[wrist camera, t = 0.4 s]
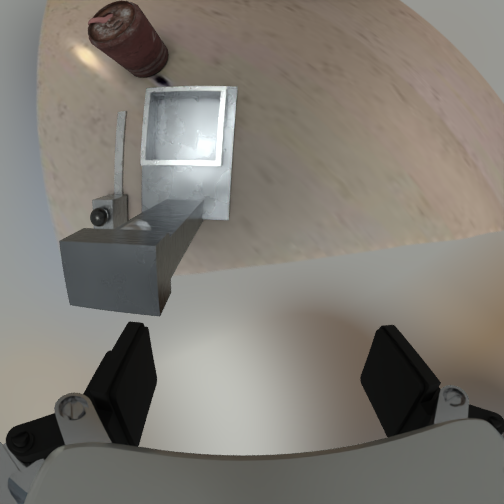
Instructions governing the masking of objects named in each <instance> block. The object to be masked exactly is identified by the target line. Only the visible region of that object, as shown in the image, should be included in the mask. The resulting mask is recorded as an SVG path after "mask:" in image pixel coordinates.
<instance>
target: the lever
mask: <svg viewBox="0 0 504 504" xmlns="http://www.w3.org/2000/svg"><path fill="white" fill-rule="evenodd" d="M92 202H93V211H92V212H91V215H90V220H91V222H92V224H93V225H94V229H115V228H117V227H118V226H120V225H122V224H123V223H125V222H127V195H107V196H103V197H100V198H97V199H94V200H92Z"/></svg>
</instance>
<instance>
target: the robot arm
mask: <svg viewBox="0 0 504 504" xmlns="http://www.w3.org/2000/svg"><path fill="white" fill-rule="evenodd" d="M440 383H441V382H440V381H439V380H438V378H437V377H436V376H435V375H434V373H433V372H432V371H431V369H430V368H429V367H428V366H427V364H426V363H425V362H424V361H423V359H422V358H421V357H420V356H419V354H418V353H417V352H416V351H415V349H414V348H413V347H412V346H411V345H410V343H409V342H408V341H407V340H406V339H405V337H404V336H403V335H402V334H401V333H400V332H399V330H398V329H397V328H396V327H395V326H394V325H386V326H381V327H380V328H379V329H378V330H377V331H376V333H375V336H374V339H373V342H372V346H371V349H370V352H369V355H368V357H367V360H366V363H365V366H364V369H363V371H362V374H361V384H362V386H363V388H364V390H365V392H366V394H367V396H368V398H369V400H370V402H371V404H372V406H373V408H374V410H375V412H376V414H377V417H378V419H379V420H380V423H381V425H382V427H383V429H384V431H385V433H386V435H387V437H388V438H384V439H380V440H375V441H371V442H367V443H362V444H357V445H352V446H346V447H340V448H334V449H328V450H320V451H312V452H303V453H292V454H278V455H252V456H251V455H248V456H247V455H246V456H240V455H239V456H237V455H209V454H194V453H184V452H174V451H165V450H157V449H151V448H144V447H138V446H139V442H140V439H141V436H142V432H143V428H144V425H145V421H146V418H147V414H148V411H149V407H150V404H151V401H152V397H153V393H154V390H155V387H156V384H157V375H156V370H155V365H154V360H153V354H152V348H151V342H150V336H149V329H148V327H144V324H143V323H139V322H128V324H127V325H126V327H125V329H124V330H123V332H122V334H121V335H120V337H119V339H118V341H117V342H116V344H115V346H114V347H113V349H112V351H108V352H107V353H106V354H105V356H104V358H103V360H102V361H101V363H100V365H99V367H98V368H97V370H96V372H95V374H94V375H93V377H92V380H91V381H90V383H89V385H88V387H87V388H86V390H85V392H84V394H80V393H69V394H66V395H64V396H62V397H61V398H60V399H58V401H57V402H56V404H55V408H54V409H55V413H54V414H51V415H48V416H45V417H42V418H39V419H36V420H33V421H30V422H27V423H24V424H20V425H17V426H15V427H13V428H12V429H11V430H10V431H9V432H8V434H7V437H6V443H5V444H4V445H3V444H2V443H1V442H0V504H504V419H503V418H502V417H501V416H500V415H499V414H497V413H495V412H491V411H488V410H485V409H481V408H479V407H476V406H472V405H469V398H468V396H467V394H466V392H465V391H463V390H462V389H461V388H459V387H457V386H452V385H450V386H445V387H443V388H442V389H440V388H439V385H440Z"/></svg>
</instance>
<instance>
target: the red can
mask: <svg viewBox="0 0 504 504" xmlns="http://www.w3.org/2000/svg"><path fill="white" fill-rule="evenodd" d="M88 25H89V27H88V35H89V40H90V42H91V44H93V45H94V46H96V47H97V48H98V49H100V50H101V51H102V52H104V53H105V54H107V55H108V56H109V57H111V58H112V59H113V60H115V61H116V62H117V63H119V64H120V65H121V66H123V67H124V68H125V69H127V70H128V71H129V72H131V73H132V74H133V75H135V76H138V77H148V76H151V75H154V74H155V73H157V72H159V71H160V70H161V69H162V68H163V67H164V65H165V63H166V62H167V59H168V49H167V48H166V46H165V45H164V43H163V42H162V40H161V39H160V37H159V36H158V34H157V33H156V31H155V30H154V28H153V27H152V25H151V24H150V22H149V21H148V19H147V18H146V16H145V15H144V14H143V12H142V11H141V9H140V8H139V6H138V5H136V4H134V3H132V2H128V1H117V2H113V3H111V4H108V5H106V6H105V7H103V8H102V9H100V10H99V11H98V12H97V13H96V14H95V15H94V17H93V18H91V19H90V20H89V22H88Z"/></svg>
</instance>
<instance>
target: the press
mask: <svg viewBox="0 0 504 504" xmlns="http://www.w3.org/2000/svg"><path fill="white" fill-rule="evenodd" d="M236 100H237V87H231V86H174V87H156V88H146V96H145V106H144V116H143V128H142V143H141V164H140V165H142V213H141V214H139V215H137V216H135V217H134V218H132V219H130V220H128V221H127V222H125V223H123V224H122V225H120V226H118V227H117V228H115V229H93V228H83V229H81V230H79V231H77V232H76V233H74V234H72V235H70V236H68V237H66V238H64V239H62V240H61V241H59V242H60V251H61V258H62V265H63V271H64V277H65V282H66V288H67V293H68V297H69V302H70V305H73V306H80V307H86V308H94V309H100V310H108V311H116V312H124V313H133V314H141V315H151V316H160V315H161V313H162V311H163V309H164V307H165V305H166V302H167V300H168V298H169V296H170V294H171V277H172V275H173V274H174V272H175V270H176V268H177V266H178V264H179V263H180V261H181V259H182V257H183V255H184V253H185V252H186V250H187V248H188V246H189V245H190V243H191V241H192V239H193V237H194V236H195V234H196V232H197V230H198V229H199V227H200V225H201V224H202V222H203V219H213V220H228V219H229V203H230V185H231V169H232V154H233V139H234V125H235V112H236ZM126 113H127V112H126V111H123V112H118V118H117V130H116V146H115V178H114V195H123V158H124V138H125V124H126Z"/></svg>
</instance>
